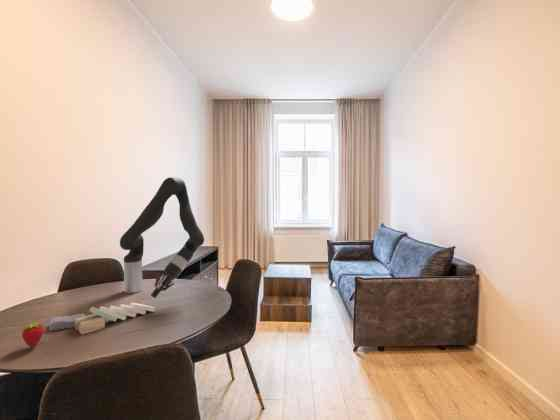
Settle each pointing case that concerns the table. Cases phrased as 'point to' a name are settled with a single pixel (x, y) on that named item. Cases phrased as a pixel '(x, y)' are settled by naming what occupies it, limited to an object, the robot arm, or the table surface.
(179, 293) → the table surface
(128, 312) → the domino
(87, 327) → the stop block
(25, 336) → the strawberry
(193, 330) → the table surface
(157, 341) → the table surface
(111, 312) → the domino
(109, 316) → the domino
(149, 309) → the domino
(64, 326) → the stone block
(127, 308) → the domino
